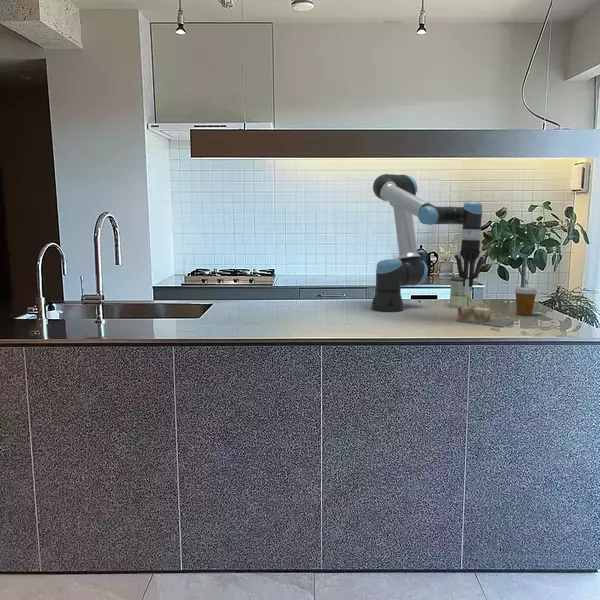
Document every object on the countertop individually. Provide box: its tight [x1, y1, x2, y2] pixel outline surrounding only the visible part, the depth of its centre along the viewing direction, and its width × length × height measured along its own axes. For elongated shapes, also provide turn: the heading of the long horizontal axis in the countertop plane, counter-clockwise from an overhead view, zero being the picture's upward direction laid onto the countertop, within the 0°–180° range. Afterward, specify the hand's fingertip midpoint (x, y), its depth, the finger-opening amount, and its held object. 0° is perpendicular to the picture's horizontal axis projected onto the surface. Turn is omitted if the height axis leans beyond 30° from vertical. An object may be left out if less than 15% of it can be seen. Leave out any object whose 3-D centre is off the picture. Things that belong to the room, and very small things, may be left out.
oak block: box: [457, 305, 492, 322], centre depth 241 cm, size 5×6×12 cm
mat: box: [455, 318, 515, 328], centre depth 238 cm, size 20×14×1 cm
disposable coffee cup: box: [514, 286, 538, 317], centre depth 255 cm, size 10×10×12 cm
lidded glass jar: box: [449, 276, 473, 309], centre depth 275 cm, size 10×10×14 cm
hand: (467, 294), depth 242 cm, fingers closed
